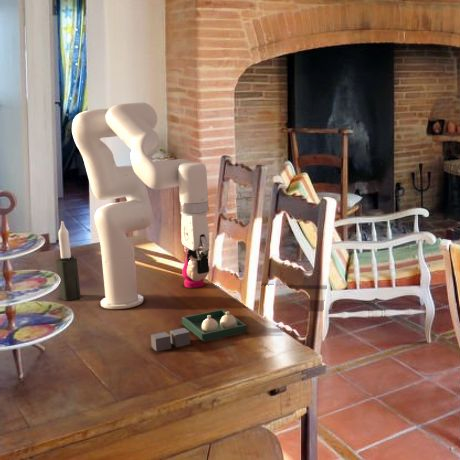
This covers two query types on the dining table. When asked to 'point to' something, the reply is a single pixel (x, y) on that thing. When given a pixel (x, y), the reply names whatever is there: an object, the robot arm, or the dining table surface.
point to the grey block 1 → (161, 341)
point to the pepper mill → (189, 282)
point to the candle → (67, 268)
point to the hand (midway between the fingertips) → (198, 269)
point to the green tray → (196, 327)
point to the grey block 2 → (180, 337)
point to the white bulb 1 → (209, 325)
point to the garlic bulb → (195, 270)
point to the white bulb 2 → (227, 321)
